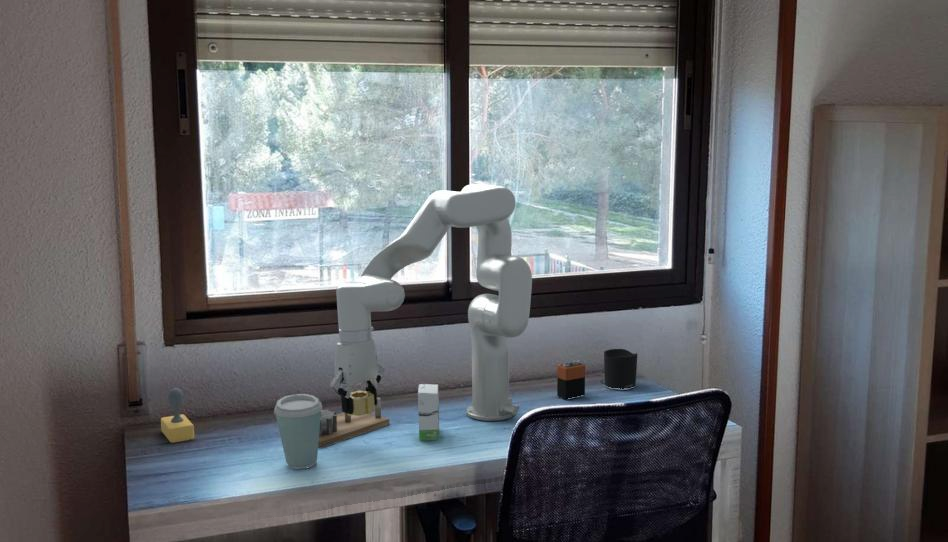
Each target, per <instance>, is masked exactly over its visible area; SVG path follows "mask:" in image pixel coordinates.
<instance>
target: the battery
mask: <svg viewBox="0 0 948 542" xmlns="http://www.w3.org/2000/svg"><path fill="white" fill-rule="evenodd" d="M556 367H557V373H556V374H557V375H556V376H557V377H556V378H557V379H556V380H557V382H556V384H557V388H556V391H557V392H556V393H557V394H556V395H557V397H558V396H559V397H558V398H560V397H562V398H565V399H568V398H572V397H577V396H581V395H585V396H586V365H585V364H584V363H581V360H579V359H573V360H572V361H571V362H563V363H562V364H558V365H557V366H556ZM562 398H561V399H562ZM565 399H564V400H565Z"/></svg>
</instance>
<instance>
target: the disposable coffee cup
mask: <svg viewBox="0 0 948 542" xmlns="http://www.w3.org/2000/svg"><path fill="white" fill-rule="evenodd" d="M321 410H323V405H322V402H321V401H320V399H319V398H318V397H316V396H315V395H312V394H307V393H299V394H298V393H297V394H290V395H284V396H283V397H281V398H279V399H278V400H277V401H276V404H275V407H274V409H273V414H275V417H276V421H277V427H278V432H279V436H280V440H281V445H282V450H283V454H284V457H285V458H284V459H285V461H286V462H285V463H286V464H287V466H288V468H290V467H291V468H290V469H292V468H297V469H296V470H299V469H298V468H306V469H308V468H307V467H310V468H312V467H314V466H316V463H317V460H318V453H319V447H318V442H319V430H320V418H321ZM313 465H314V466H313Z"/></svg>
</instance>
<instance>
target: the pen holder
mask: <svg viewBox="0 0 948 542" xmlns="http://www.w3.org/2000/svg"><path fill="white" fill-rule="evenodd" d="M603 364H604V365H603V367H604V370H603V371H604V386H605V385H606V386H608V387H611V388H620V389H621V388H622V389H624V388H631V387H634V386H635V387H636V384H637V370H638V369H637V367H638V352H636V353H632V352H631V351H629V350H627V349H624V348H611V349H607V350H604V352H603ZM606 386H605V387H606ZM635 387H634V388H635Z"/></svg>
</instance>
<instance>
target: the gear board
mask: <svg viewBox="0 0 948 542" xmlns="http://www.w3.org/2000/svg"><path fill="white" fill-rule="evenodd" d="M381 399H382V398H381V397H377V405H375V411H374V413H371V414H366V415H361V416H357V415H348V414H347V413H344V412H343V411H342V412H339V413H337V411H331V410H330V409H322V410H321V418H320V430H319V442H318V448H320V447H322V448H325V447H327V446H330V444H331V445H333V444H336V442H337V443H339V442H343V441H345V440H349V439H351V438H354V437H357V436H360V435H363V434H366V433H369V432H372V431H374V430H377V429H381V428H383V427H387V426H389V425H390V418H387V417H383V416H382V406H381V404H382V403H381V402H382V401H381ZM368 431H369V432H368ZM365 432H366V433H365ZM362 433H363V434H362ZM359 434H360V435H359ZM356 435H357V436H356ZM350 437H351V438H350Z"/></svg>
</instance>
